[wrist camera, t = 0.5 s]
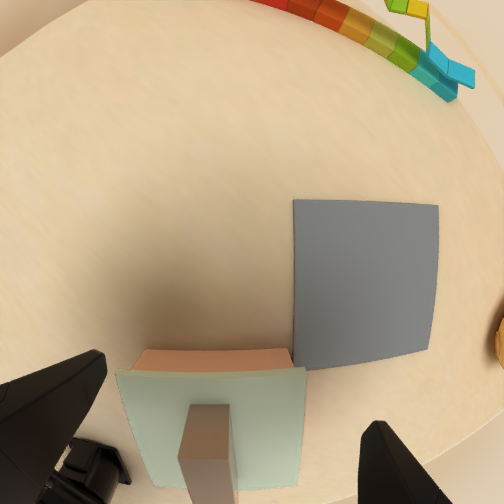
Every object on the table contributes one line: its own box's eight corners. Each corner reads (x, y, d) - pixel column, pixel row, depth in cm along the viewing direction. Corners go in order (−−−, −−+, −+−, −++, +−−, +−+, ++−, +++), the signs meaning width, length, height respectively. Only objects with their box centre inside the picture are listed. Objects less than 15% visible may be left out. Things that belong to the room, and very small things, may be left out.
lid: (295, 479, 18) (308, 529, 12) (155, 479, 17) (142, 527, 11) (304, 366, 16) (330, 421, 11) (119, 368, 16) (81, 417, 10)
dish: (282, 444, 22) (289, 477, 17) (167, 444, 22) (158, 476, 17) (285, 345, 21) (297, 374, 16) (146, 347, 21) (127, 373, 16)
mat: (425, 347, 22) (427, 349, 21) (292, 369, 21) (293, 371, 20) (435, 205, 20) (438, 205, 20) (293, 200, 20) (294, 199, 19)
